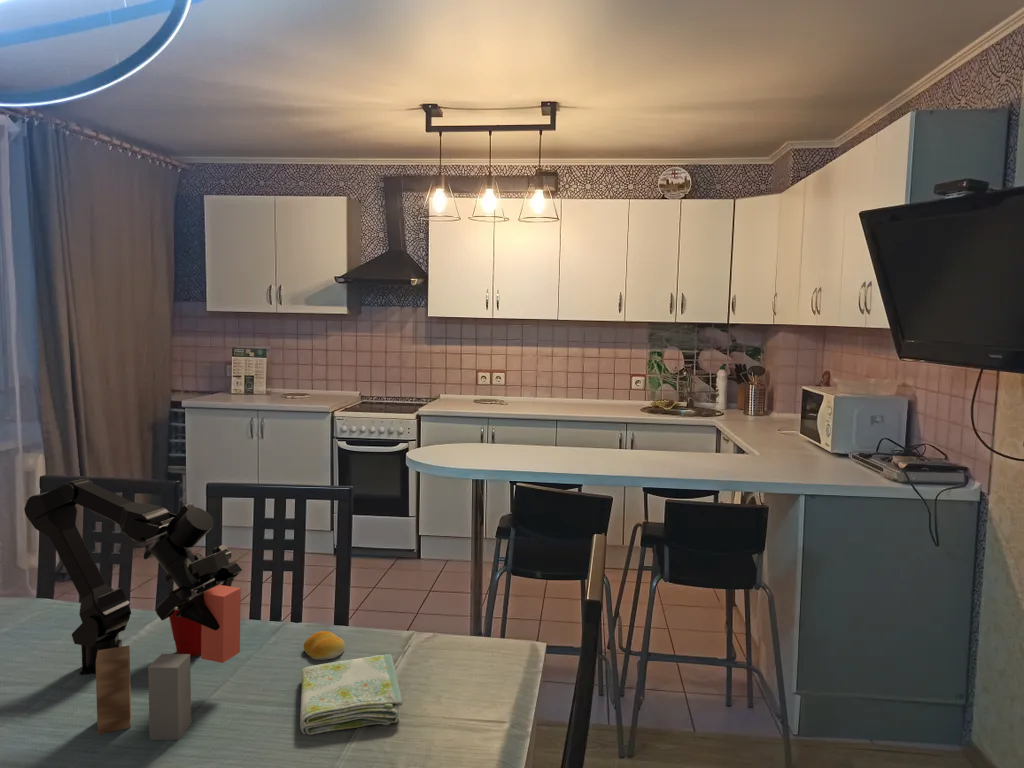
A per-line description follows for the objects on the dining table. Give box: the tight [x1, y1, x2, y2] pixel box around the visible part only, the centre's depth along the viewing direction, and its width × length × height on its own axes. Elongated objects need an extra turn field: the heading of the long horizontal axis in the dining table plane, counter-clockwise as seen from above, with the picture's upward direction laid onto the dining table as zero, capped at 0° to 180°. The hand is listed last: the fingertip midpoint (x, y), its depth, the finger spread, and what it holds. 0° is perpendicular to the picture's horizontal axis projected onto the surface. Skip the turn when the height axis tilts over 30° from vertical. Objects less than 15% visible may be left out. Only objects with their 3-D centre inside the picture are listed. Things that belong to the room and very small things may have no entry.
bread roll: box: [303, 630, 346, 661], centre depth 158 cm, size 8×9×4 cm
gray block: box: [147, 653, 192, 741], centre depth 126 cm, size 5×5×13 cm
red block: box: [200, 585, 242, 664], centre depth 140 cm, size 5×5×13 cm
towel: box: [299, 653, 403, 736], centre depth 138 cm, size 18×21×5 cm
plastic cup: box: [168, 607, 202, 658], centre depth 157 cm, size 11×11×12 cm
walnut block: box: [95, 645, 132, 735], centre depth 128 cm, size 5×5×13 cm
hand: (227, 623), depth 140 cm, fingers closed on red block, 5 cm apart
